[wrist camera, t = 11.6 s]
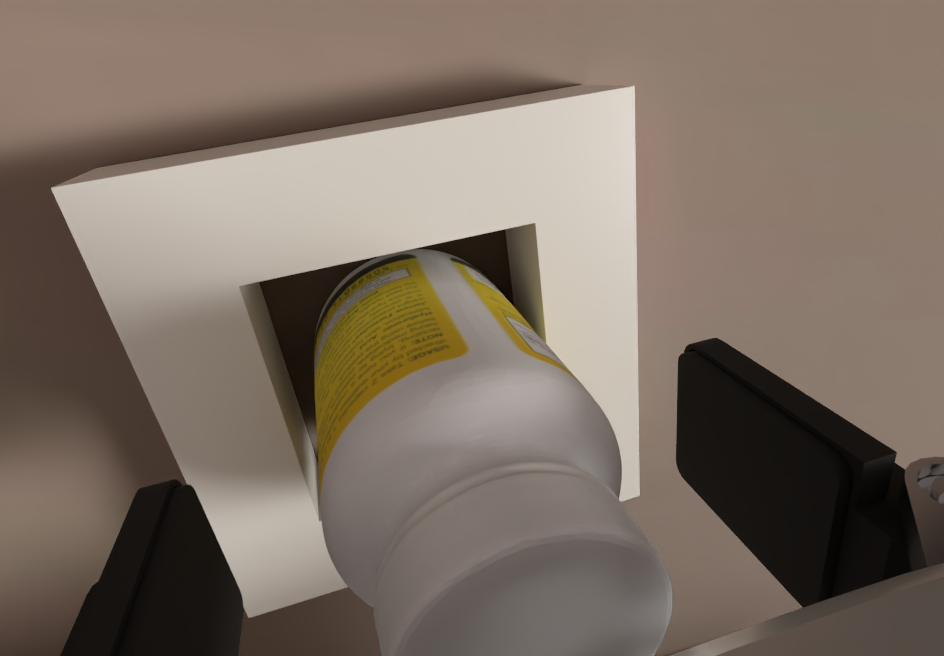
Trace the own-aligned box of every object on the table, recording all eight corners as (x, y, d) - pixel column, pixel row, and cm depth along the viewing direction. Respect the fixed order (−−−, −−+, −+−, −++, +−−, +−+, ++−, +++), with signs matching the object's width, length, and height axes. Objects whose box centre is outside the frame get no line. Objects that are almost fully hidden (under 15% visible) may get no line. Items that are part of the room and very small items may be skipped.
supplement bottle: (303, 417, 16) (298, 817, 7) (325, 231, 14) (353, 473, 6) (483, 425, 18) (651, 757, 9) (524, 258, 16) (784, 477, 7)
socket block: (584, 84, 14) (634, 85, 12) (601, 447, 19) (639, 495, 17) (96, 168, 12) (50, 188, 10) (256, 549, 17) (248, 618, 15)
